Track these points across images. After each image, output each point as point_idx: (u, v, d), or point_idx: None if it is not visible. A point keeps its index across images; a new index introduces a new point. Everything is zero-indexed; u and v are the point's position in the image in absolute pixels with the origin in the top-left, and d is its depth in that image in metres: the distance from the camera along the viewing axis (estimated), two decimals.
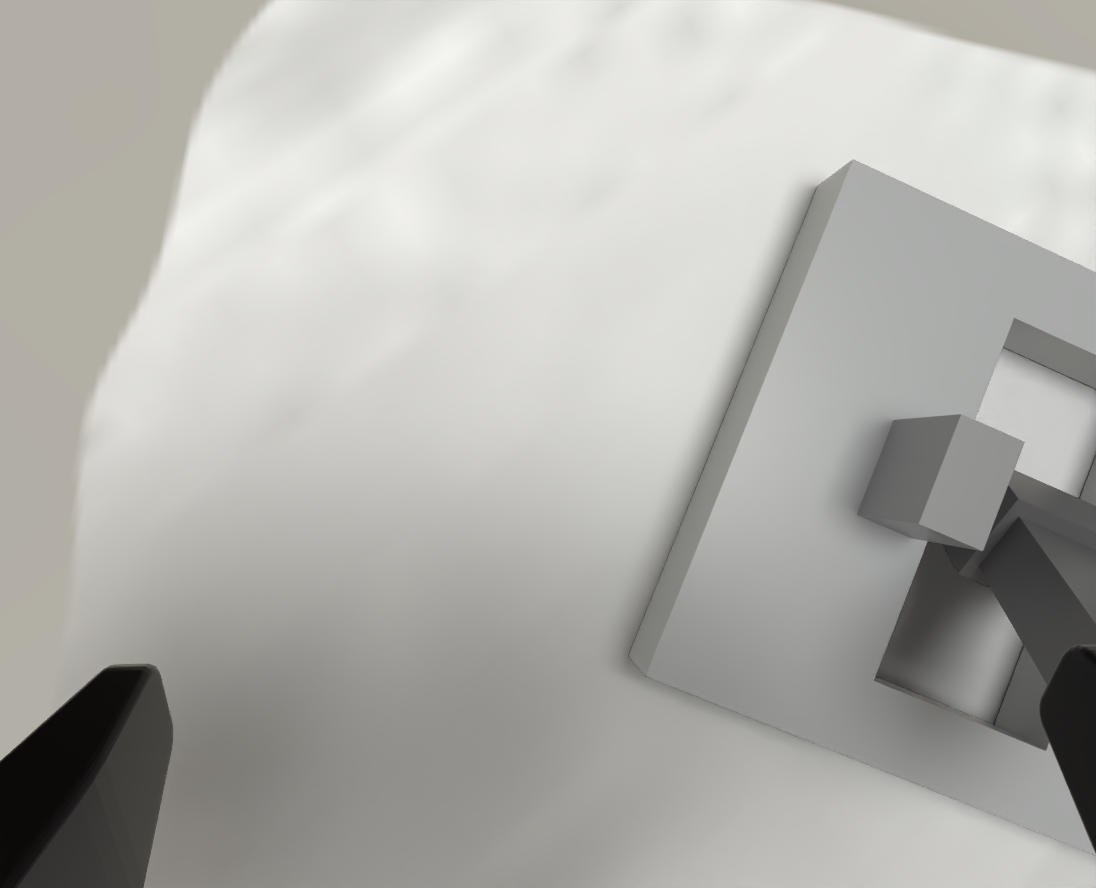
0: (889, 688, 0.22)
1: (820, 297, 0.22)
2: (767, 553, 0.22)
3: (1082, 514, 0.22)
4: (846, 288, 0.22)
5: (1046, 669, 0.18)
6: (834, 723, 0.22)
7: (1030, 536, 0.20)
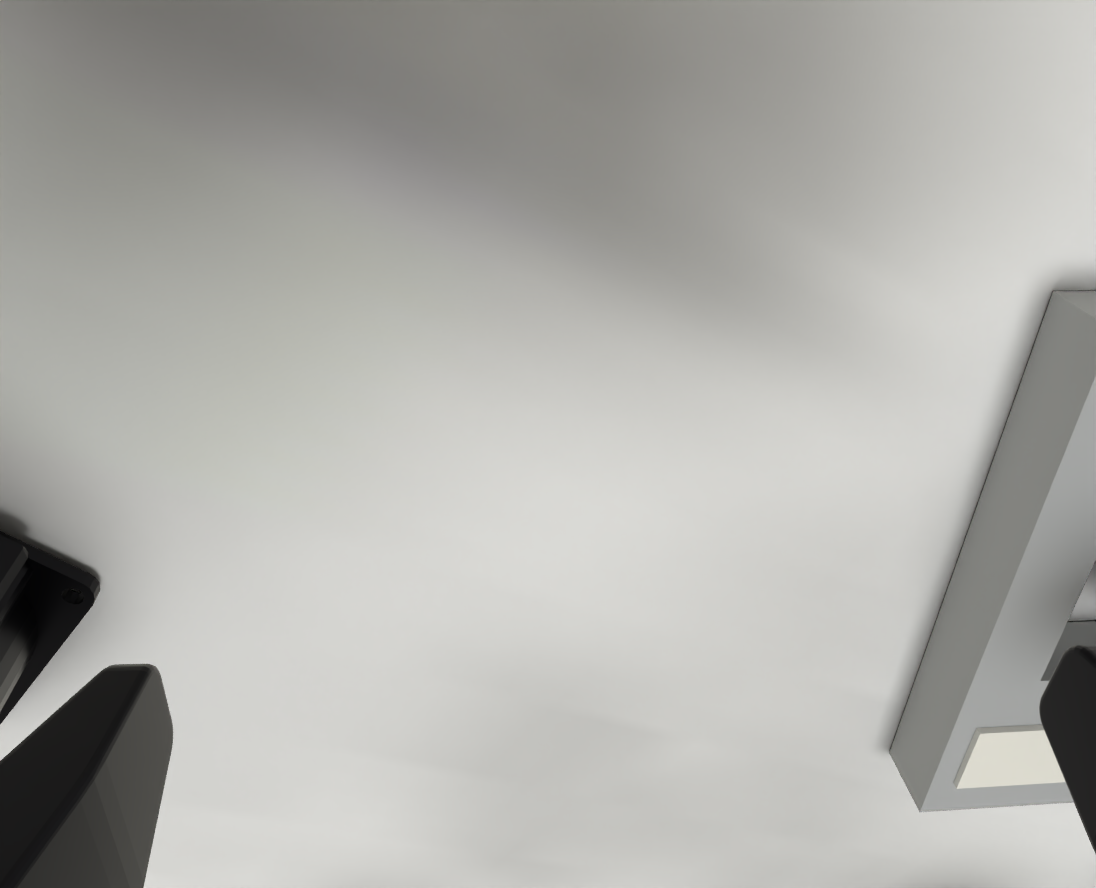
0: None
1: None
2: None
3: None
4: None
5: None
6: (1062, 519, 0.21)
7: None
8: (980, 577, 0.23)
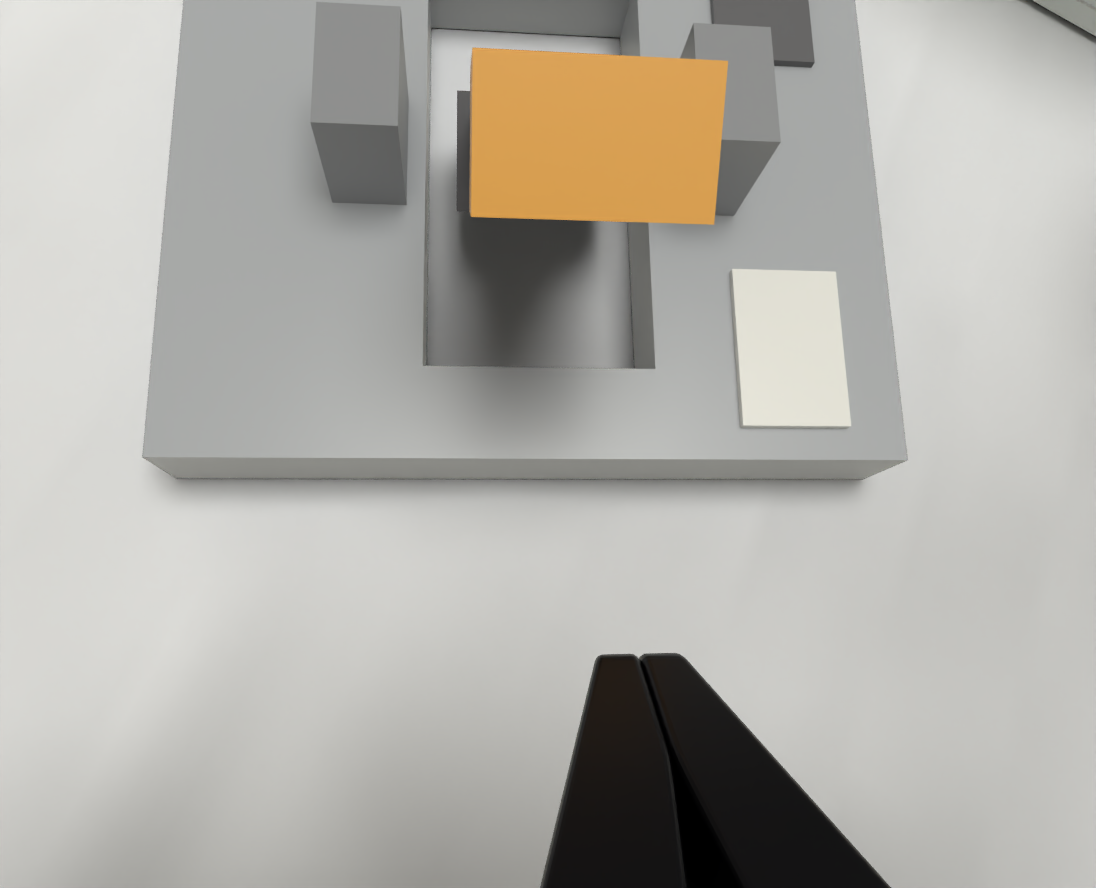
0: (445, 367, 0.19)
1: (206, 9, 0.20)
2: (243, 276, 0.19)
3: None
4: None
5: None
6: (394, 427, 0.18)
7: None
8: (522, 469, 0.19)
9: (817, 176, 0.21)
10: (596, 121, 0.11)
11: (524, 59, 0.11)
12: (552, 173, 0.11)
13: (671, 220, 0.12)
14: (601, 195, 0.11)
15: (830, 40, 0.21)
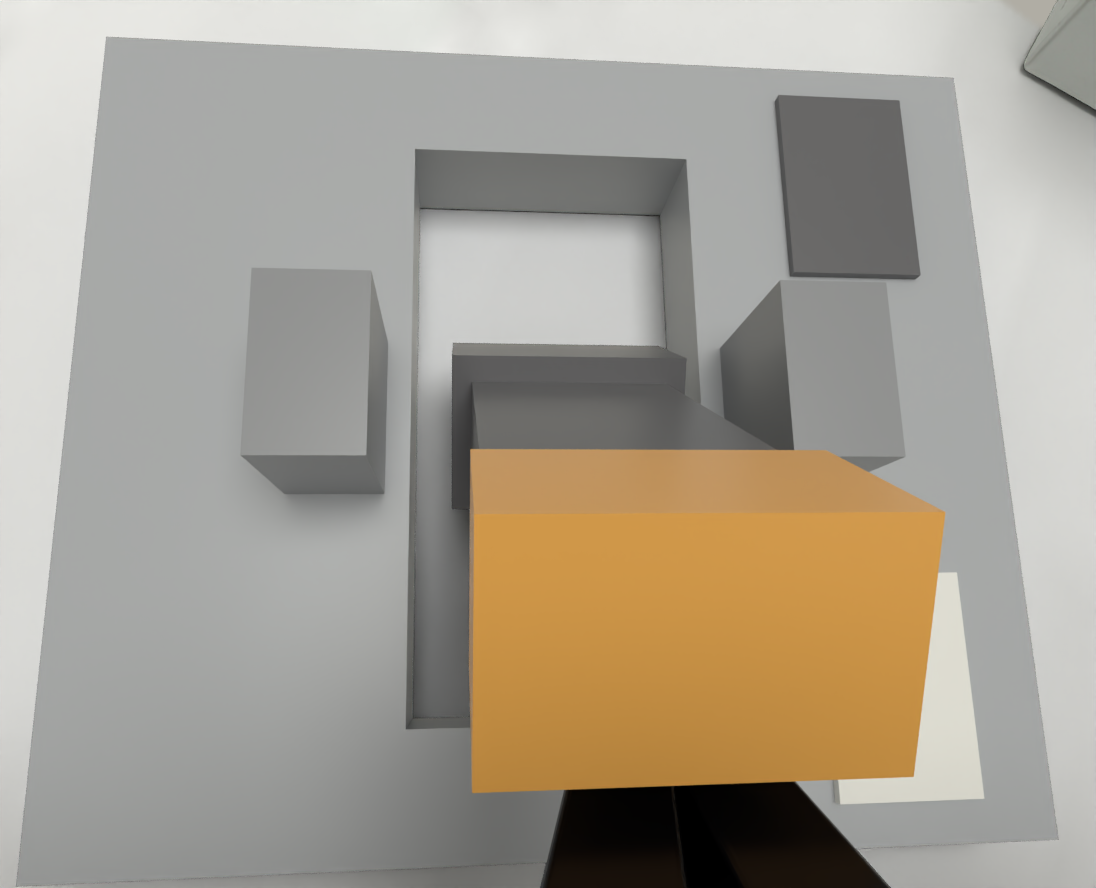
0: (436, 730, 0.14)
1: (119, 222, 0.15)
2: (162, 607, 0.14)
3: (586, 350, 0.14)
4: (154, 197, 0.15)
5: None
6: (366, 824, 0.13)
7: None
8: None
9: (928, 432, 0.16)
10: (704, 624, 0.06)
11: (572, 529, 0.06)
12: (623, 713, 0.06)
13: (838, 778, 0.06)
14: (712, 744, 0.06)
15: (938, 240, 0.17)
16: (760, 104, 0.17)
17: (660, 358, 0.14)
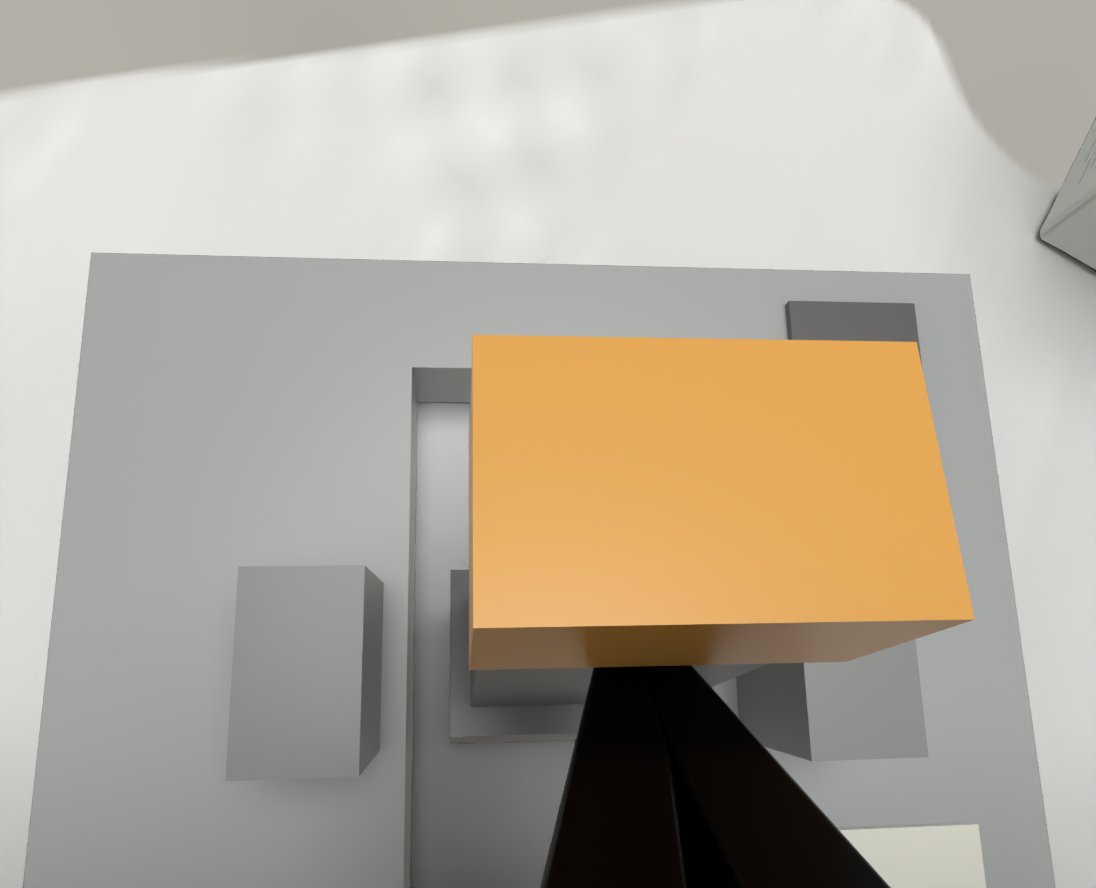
0: None
1: (103, 456, 0.14)
2: (145, 884, 0.13)
3: None
4: (140, 428, 0.15)
5: None
6: None
7: None
8: None
9: (946, 665, 0.15)
10: (707, 441, 0.06)
11: (565, 349, 0.06)
12: (635, 535, 0.06)
13: (888, 614, 0.06)
14: (738, 572, 0.06)
15: (955, 453, 0.16)
16: (770, 308, 0.16)
17: None
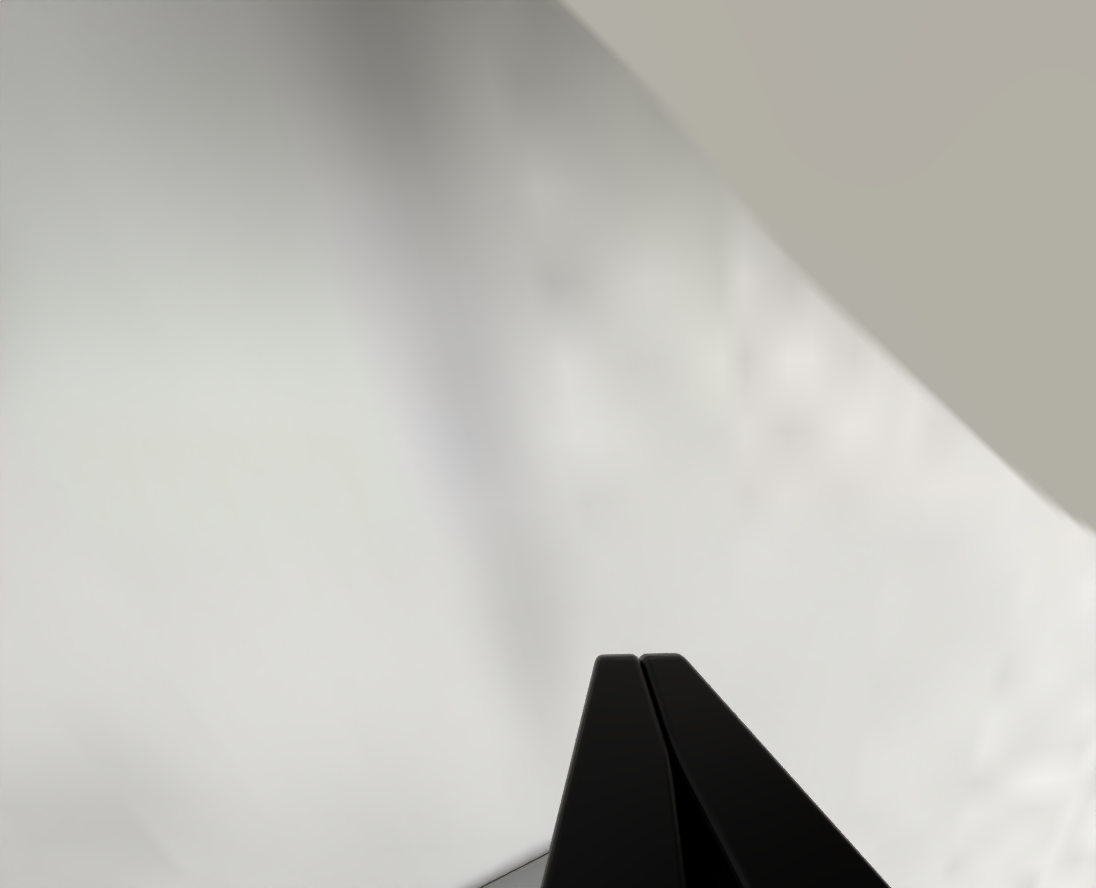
0: None
1: None
2: None
3: None
4: None
5: None
6: None
7: None
8: None
9: None
10: None
11: None
12: None
13: None
14: None
15: None
16: None
17: None
